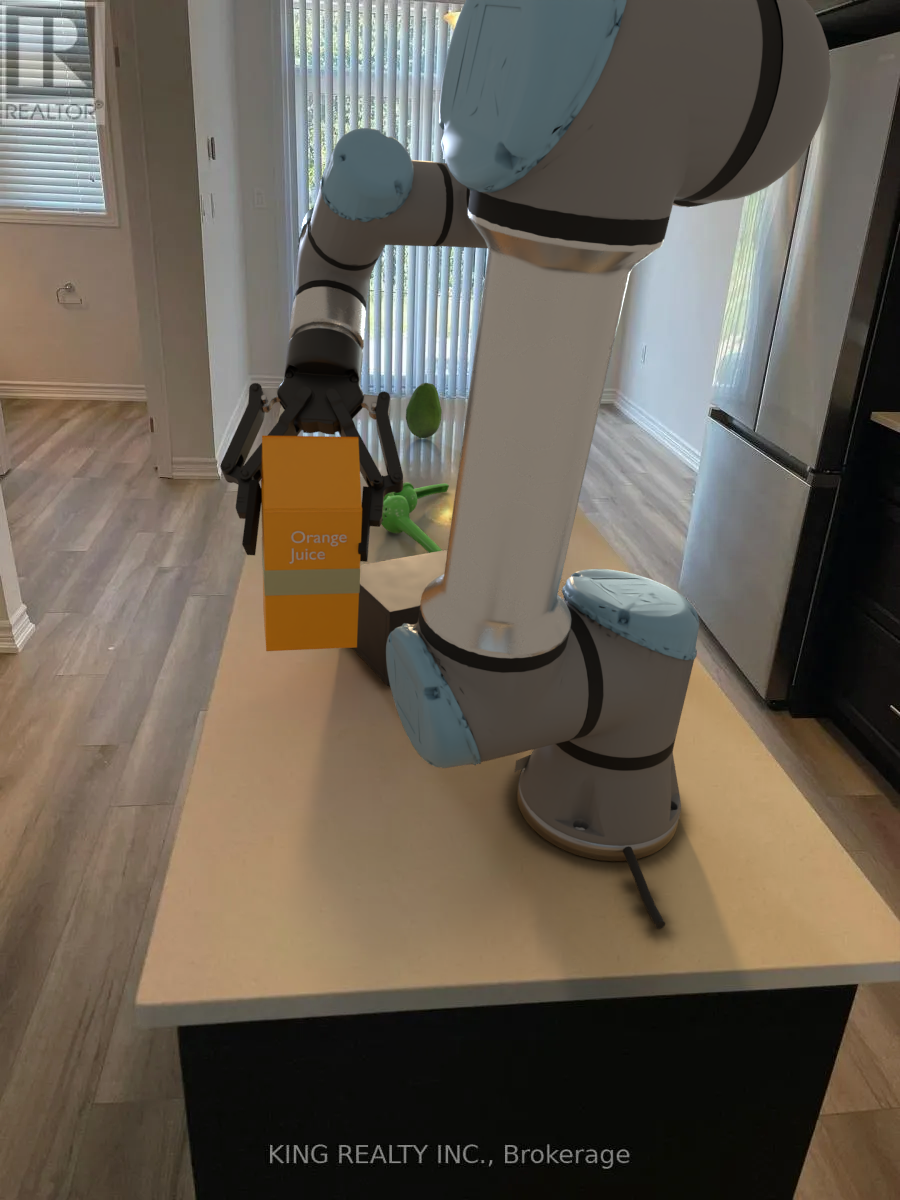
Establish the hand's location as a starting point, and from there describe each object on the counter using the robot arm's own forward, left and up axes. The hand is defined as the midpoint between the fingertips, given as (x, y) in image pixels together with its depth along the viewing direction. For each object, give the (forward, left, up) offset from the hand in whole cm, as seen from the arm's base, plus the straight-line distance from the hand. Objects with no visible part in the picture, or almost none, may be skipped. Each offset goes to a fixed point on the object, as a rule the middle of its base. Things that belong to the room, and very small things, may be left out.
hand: (305, 553), depth 80 cm
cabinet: (+15, -17, -21) cm, 31 cm away
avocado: (+103, -48, -15) cm, 115 cm away
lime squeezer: (+54, -30, -21) cm, 65 cm away
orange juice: (+2, -1, -10) cm, 10 cm away
